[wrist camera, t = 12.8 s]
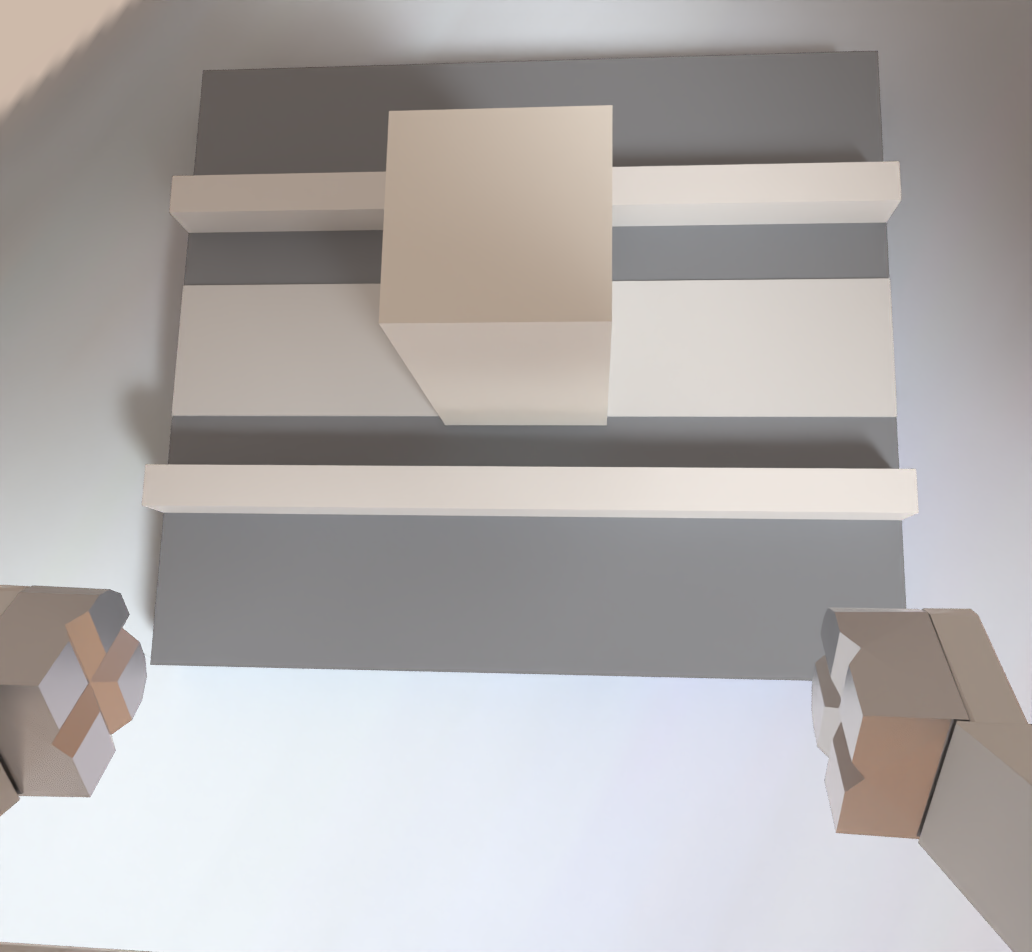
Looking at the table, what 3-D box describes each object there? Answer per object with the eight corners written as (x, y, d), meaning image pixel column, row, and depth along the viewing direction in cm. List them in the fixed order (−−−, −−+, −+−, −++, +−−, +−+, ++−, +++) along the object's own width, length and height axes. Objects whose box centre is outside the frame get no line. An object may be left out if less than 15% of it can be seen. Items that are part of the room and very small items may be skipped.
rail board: (861, 84, 26) (891, 20, 24) (890, 680, 23) (927, 684, 21) (224, 101, 28) (185, 43, 25) (176, 664, 25) (127, 665, 22)
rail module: (607, 249, 24) (612, 74, 17) (606, 425, 24) (611, 321, 16) (451, 251, 25) (390, 80, 17) (445, 425, 24) (378, 323, 17)
